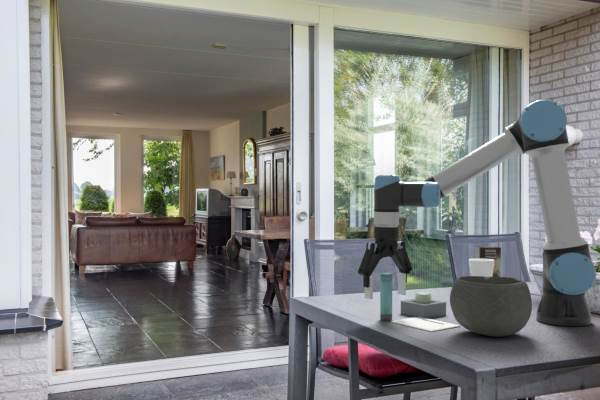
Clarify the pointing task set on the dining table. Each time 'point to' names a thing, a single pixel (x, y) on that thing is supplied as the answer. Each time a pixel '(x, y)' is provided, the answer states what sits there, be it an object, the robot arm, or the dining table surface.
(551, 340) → the dining table surface
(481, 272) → the foam cup
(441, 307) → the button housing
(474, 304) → the bowl
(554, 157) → the robot arm
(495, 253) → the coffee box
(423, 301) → the button
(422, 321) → the paper
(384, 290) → the marker
